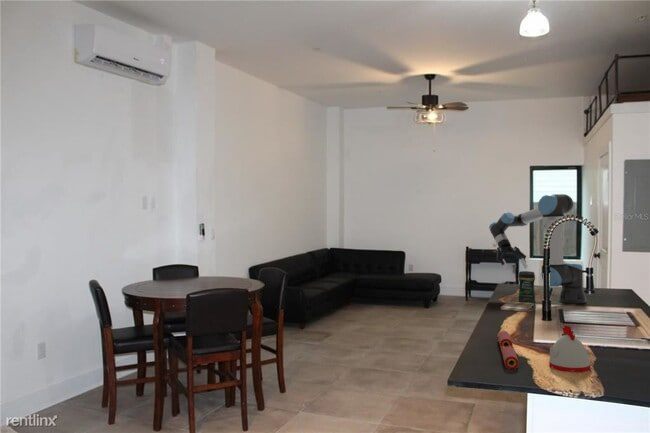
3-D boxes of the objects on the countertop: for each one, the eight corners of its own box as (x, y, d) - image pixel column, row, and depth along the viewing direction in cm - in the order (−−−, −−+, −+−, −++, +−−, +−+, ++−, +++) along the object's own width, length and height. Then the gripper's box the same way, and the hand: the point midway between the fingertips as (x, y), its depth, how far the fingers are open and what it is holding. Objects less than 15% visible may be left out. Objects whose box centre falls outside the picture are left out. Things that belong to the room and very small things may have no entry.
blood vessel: (498, 341, 248) (497, 330, 248) (510, 342, 247) (509, 331, 247) (504, 369, 208) (504, 356, 208) (518, 370, 207) (518, 356, 206)
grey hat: (578, 360, 215) (578, 321, 215) (597, 371, 201) (596, 329, 201) (543, 362, 215) (542, 323, 214) (559, 373, 201) (558, 331, 201)
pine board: (533, 305, 329) (533, 302, 329) (526, 311, 312) (526, 308, 312) (509, 303, 337) (509, 301, 337) (500, 309, 320) (500, 306, 320)
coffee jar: (517, 302, 340) (517, 271, 340) (519, 300, 347) (519, 270, 347) (534, 303, 336) (534, 272, 336) (536, 301, 343) (535, 270, 343)
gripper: (517, 245, 372) (531, 270, 357) (483, 247, 366) (496, 272, 351) (522, 237, 366) (536, 263, 352) (487, 239, 360) (500, 265, 346)
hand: (516, 267), depth 352 cm, fingers open, 13 cm apart
